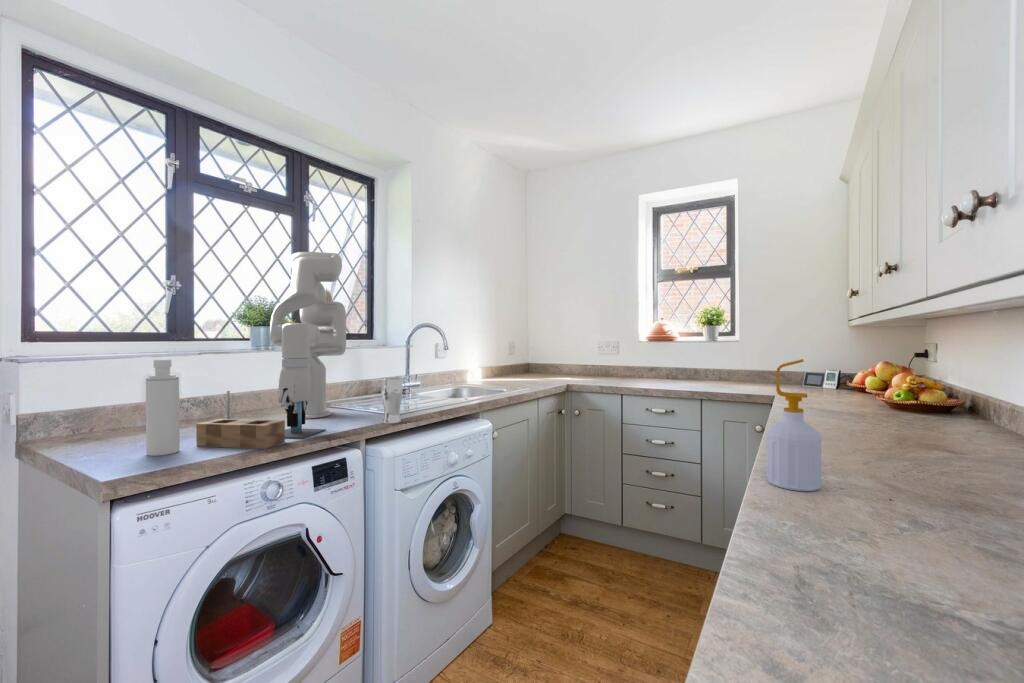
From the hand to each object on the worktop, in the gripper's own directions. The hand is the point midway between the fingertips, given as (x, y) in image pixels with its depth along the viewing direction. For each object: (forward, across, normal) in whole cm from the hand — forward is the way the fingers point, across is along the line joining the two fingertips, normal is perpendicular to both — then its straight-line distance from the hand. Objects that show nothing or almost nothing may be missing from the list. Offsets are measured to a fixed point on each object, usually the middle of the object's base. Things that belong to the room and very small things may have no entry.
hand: (296, 424), depth 138 cm
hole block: (+3, +14, -7) cm, 16 cm away
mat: (+3, 0, 0) cm, 3 cm away
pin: (+2, 0, 0) cm, 2 cm away
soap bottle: (+3, +32, +125) cm, 129 cm away
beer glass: (+3, -22, +21) cm, 30 cm away
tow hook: (+3, -2, -22) cm, 22 cm away
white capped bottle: (+3, +25, -20) cm, 32 cm away
